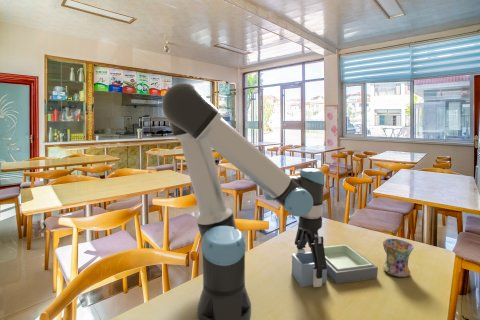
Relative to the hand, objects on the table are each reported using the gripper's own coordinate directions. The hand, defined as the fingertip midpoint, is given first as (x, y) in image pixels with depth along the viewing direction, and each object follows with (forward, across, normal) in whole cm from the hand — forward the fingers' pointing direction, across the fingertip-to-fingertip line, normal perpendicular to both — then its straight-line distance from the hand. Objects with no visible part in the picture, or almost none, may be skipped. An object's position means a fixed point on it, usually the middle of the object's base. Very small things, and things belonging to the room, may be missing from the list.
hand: (308, 275), depth 100 cm
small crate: (+1, 0, 0) cm, 1 cm away
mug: (+1, -2, -32) cm, 32 cm away
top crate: (+1, +4, -15) cm, 16 cm away
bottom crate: (+1, +4, -15) cm, 16 cm away
